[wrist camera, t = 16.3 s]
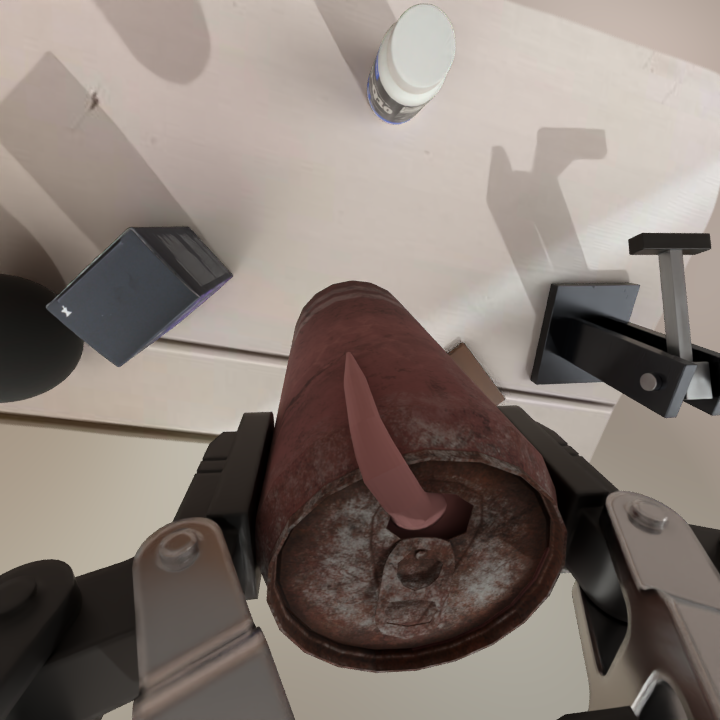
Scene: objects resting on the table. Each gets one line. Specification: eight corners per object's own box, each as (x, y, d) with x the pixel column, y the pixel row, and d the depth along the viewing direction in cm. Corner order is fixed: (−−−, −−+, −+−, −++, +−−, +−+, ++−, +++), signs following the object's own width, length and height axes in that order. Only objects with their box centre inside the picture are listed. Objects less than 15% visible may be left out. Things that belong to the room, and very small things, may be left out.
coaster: (462, 341, 38) (464, 343, 37) (503, 396, 41) (505, 399, 40) (396, 392, 39) (397, 395, 38) (440, 441, 42) (442, 444, 42)
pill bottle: (357, 69, 28) (372, 13, 20) (413, 44, 27) (450, -23, 20) (378, 135, 29) (399, 107, 22) (430, 112, 29) (470, 75, 22)
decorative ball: (97, 384, 35) (18, 445, 26) (-22, 349, 32) (-156, 402, 23) (117, 292, 32) (36, 323, 23) (-12, 245, 29) (-162, 259, 20)
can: (375, 252, 17) (533, 355, 5) (424, 355, 20) (617, 610, 7) (270, 309, 18) (148, 547, 5) (330, 403, 20) (351, 723, 8)
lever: (622, 242, 29) (648, 229, 27) (686, 242, 30) (718, 230, 28) (635, 399, 28) (664, 400, 26) (701, 396, 29) (735, 397, 27)
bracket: (551, 283, 36) (677, 320, 23) (630, 282, 37) (793, 317, 24) (530, 380, 40) (627, 455, 28) (602, 377, 41) (728, 449, 29)
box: (175, 326, 34) (115, 373, 24) (125, 280, 32) (37, 309, 22) (236, 274, 32) (200, 299, 23) (189, 222, 30) (126, 225, 20)
